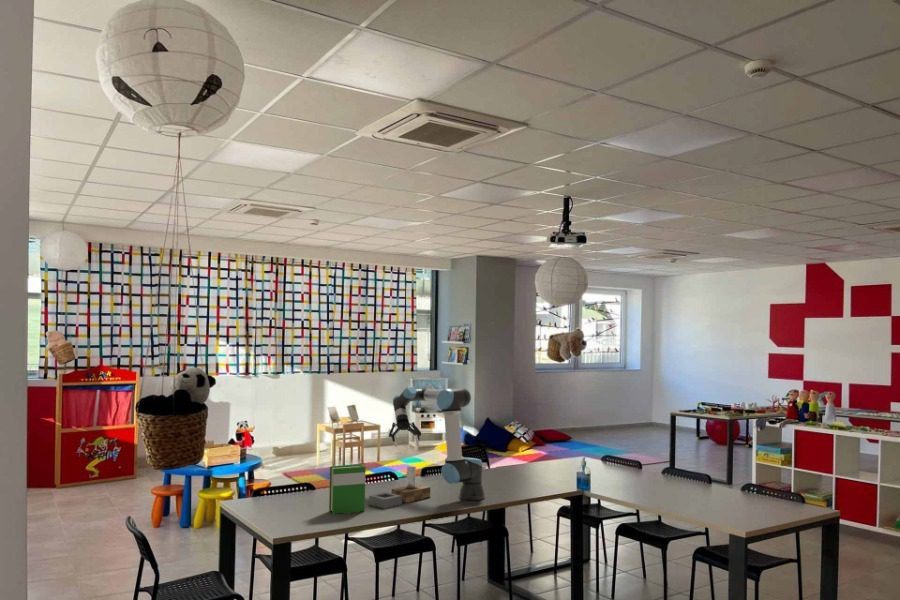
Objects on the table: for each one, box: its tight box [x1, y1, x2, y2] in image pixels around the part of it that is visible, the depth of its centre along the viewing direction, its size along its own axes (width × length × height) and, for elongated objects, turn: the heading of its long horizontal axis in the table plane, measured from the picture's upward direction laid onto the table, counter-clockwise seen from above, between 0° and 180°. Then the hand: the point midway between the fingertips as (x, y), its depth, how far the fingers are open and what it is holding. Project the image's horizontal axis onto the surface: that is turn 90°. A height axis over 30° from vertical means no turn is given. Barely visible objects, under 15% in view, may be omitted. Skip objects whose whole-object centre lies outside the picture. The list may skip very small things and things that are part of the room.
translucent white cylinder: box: [406, 466, 417, 490], centre depth 401 cm, size 5×5×18 cm
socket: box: [368, 491, 403, 509], centre depth 385 cm, size 13×13×5 cm
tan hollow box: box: [391, 483, 431, 503], centre depth 401 cm, size 12×20×6 cm, turn 137°
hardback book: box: [328, 464, 366, 515], centre depth 369 cm, size 18×7×24 cm, turn 114°
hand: (407, 445), depth 413 cm, fingers open, 13 cm apart
